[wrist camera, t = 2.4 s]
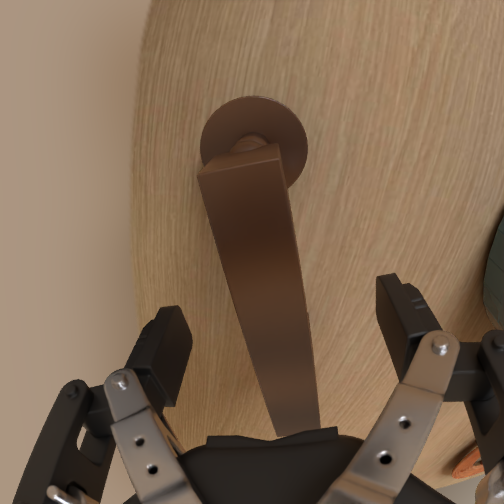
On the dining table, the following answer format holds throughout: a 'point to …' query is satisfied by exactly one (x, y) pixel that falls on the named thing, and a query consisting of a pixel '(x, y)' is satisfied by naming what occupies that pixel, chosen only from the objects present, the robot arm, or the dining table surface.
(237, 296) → the brown wooden bracket
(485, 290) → the mixing bowl
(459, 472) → the ring
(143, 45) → the dining table surface
